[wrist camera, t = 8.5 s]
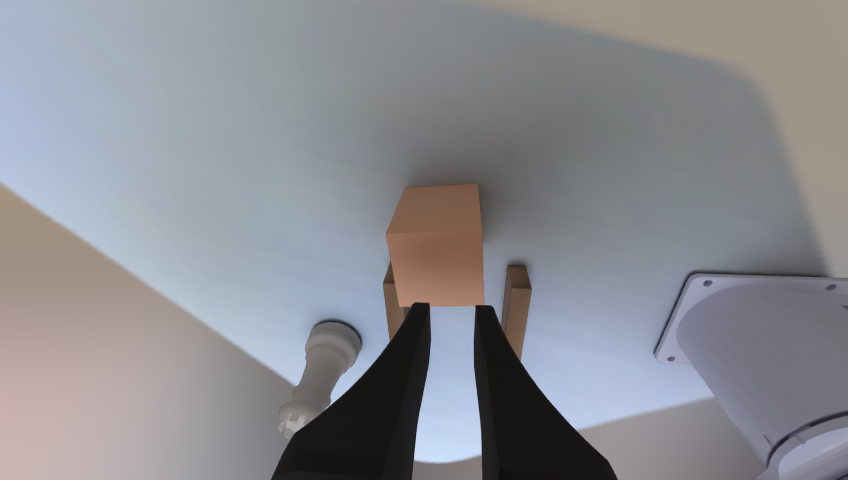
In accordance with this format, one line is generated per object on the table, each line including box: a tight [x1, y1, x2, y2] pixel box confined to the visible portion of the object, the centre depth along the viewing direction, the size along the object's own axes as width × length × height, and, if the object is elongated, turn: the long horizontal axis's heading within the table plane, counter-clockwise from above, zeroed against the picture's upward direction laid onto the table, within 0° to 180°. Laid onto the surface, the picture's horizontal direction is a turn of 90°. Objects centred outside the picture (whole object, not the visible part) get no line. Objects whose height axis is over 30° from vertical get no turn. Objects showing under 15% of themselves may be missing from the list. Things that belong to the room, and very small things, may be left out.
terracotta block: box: [386, 183, 484, 307], centre depth 19 cm, size 4×4×6 cm
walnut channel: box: [383, 262, 532, 360], centre depth 26 cm, size 9×14×2 cm
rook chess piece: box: [278, 322, 361, 439], centre depth 25 cm, size 4×4×8 cm
